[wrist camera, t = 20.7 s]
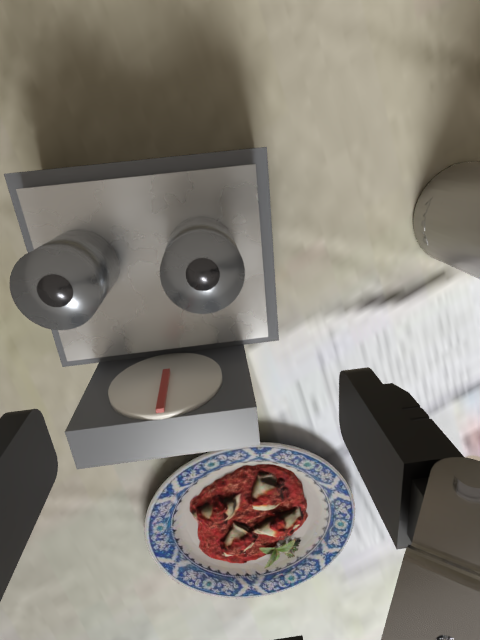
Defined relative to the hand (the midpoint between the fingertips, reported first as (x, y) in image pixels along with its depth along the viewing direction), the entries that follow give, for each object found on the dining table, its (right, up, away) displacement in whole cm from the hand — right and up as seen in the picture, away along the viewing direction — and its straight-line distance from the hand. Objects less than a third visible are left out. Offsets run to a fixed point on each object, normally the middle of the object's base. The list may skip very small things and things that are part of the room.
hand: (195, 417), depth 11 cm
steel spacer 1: (-10, +7, +18) cm, 22 cm away
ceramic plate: (+2, -22, +40) cm, 46 cm away
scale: (-6, +8, +27) cm, 28 cm away
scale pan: (-5, +7, +19) cm, 21 cm away
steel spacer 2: (-2, +8, +18) cm, 20 cm away
